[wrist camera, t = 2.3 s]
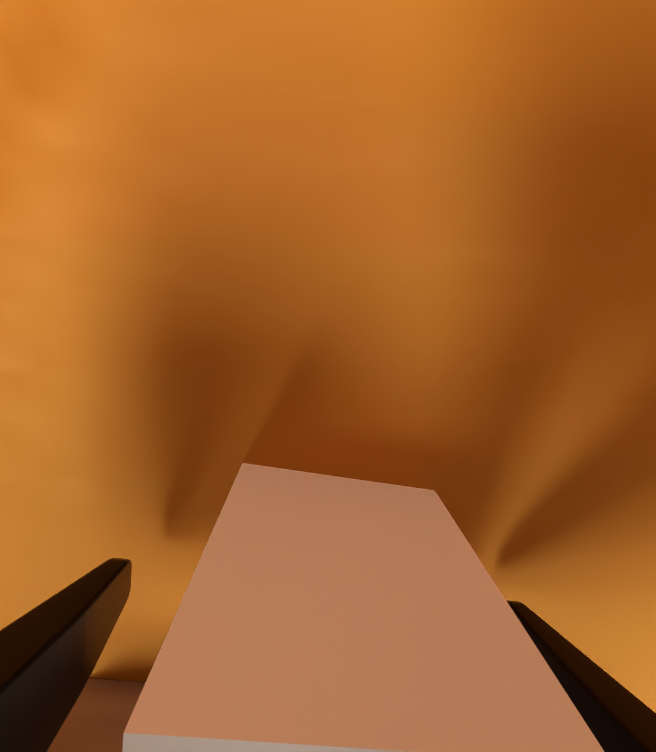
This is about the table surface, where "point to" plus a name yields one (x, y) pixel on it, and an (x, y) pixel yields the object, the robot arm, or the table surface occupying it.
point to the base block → (98, 717)
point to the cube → (346, 634)
